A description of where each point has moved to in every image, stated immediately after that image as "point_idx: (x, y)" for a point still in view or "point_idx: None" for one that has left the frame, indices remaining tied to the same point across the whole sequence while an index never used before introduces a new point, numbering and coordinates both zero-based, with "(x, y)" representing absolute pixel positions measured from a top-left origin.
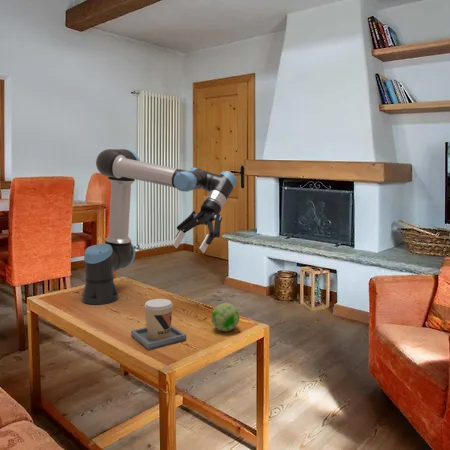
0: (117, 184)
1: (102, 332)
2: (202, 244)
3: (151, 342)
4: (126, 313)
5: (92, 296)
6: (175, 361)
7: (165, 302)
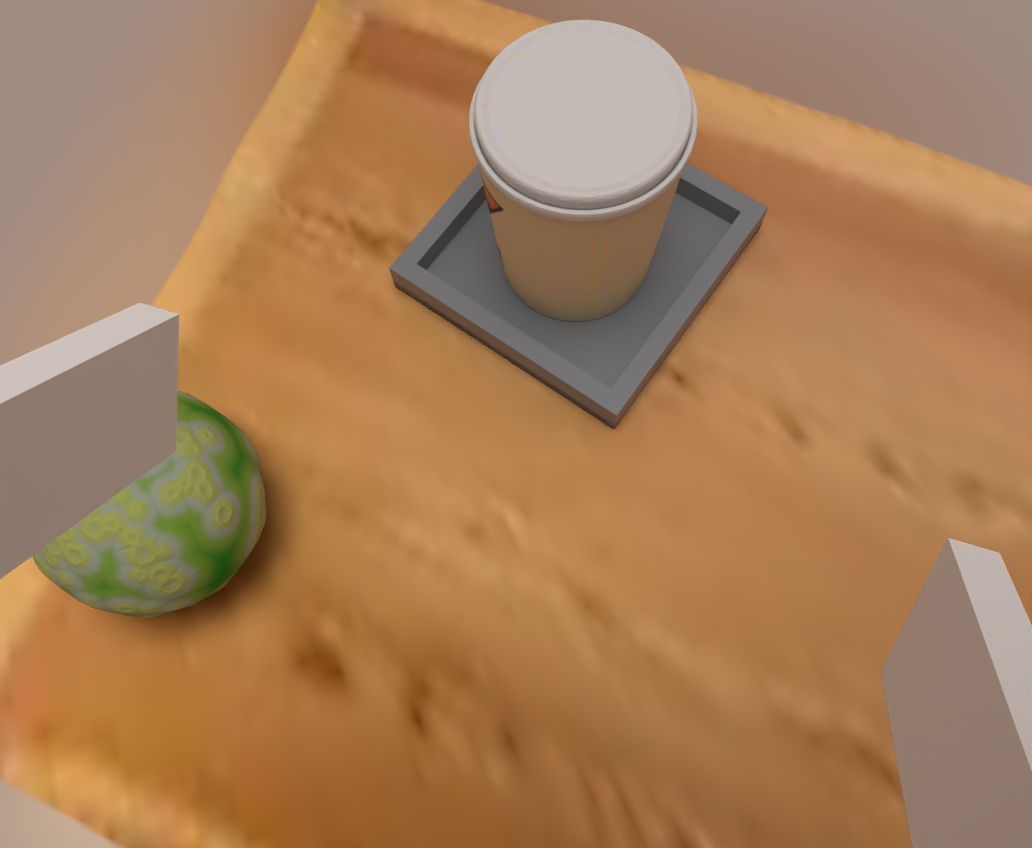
0: None
1: (974, 216)
2: (80, 338)
3: None
4: None
5: None
6: (349, 55)
7: (535, 137)
